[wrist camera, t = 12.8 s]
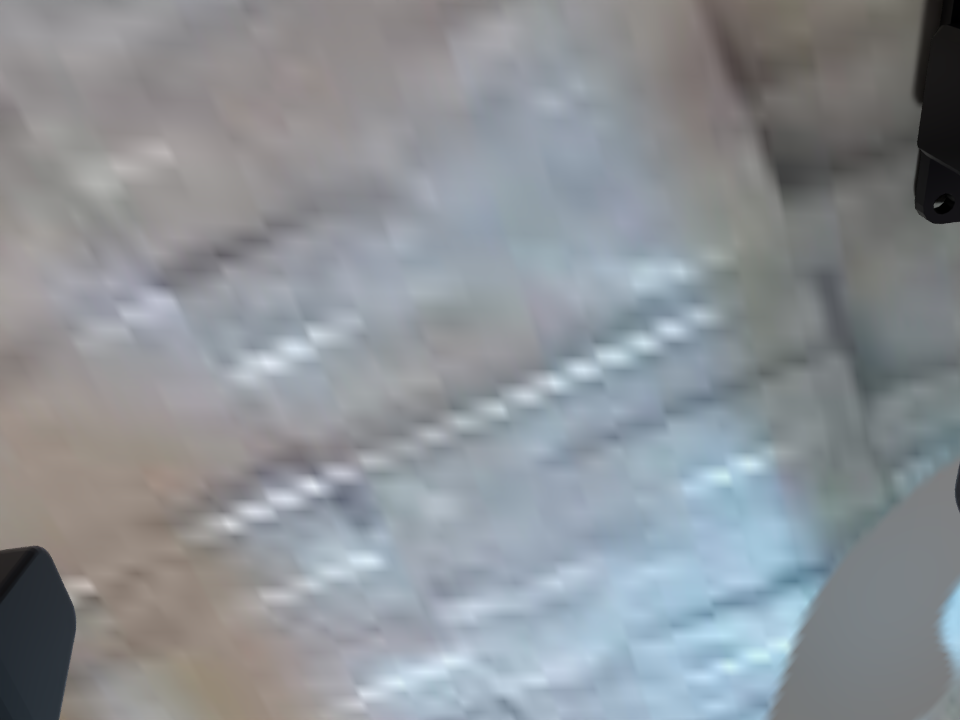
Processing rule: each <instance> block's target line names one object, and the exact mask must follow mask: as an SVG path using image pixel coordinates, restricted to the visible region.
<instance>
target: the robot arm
mask: <svg viewBox="0 0 960 720" xmlns="http://www.w3.org/2000/svg"><path fill="white" fill-rule="evenodd" d="M917 145H918V148H919V149H920V150H921V151H922V154H921V161H920V168H919V175H918V182H917V189H916V196H915V209H916V210H917V212H918V213H919V214H920V215H921V216H922V217H924V218H925V219H927V220H928V221H930V222H932V223H934V224H944V223H952V222H960V0H943V7H942V14H941V21H940V28H939V29H938V31H937V32H936V33H935V34H934V36H933V37H932V41H931V48H930V55H929V62H928V69H927V76H926V83H925V91H924V98H923V105H922V112H921V119H920V126H919V134H918V141H917ZM945 193H946V199H945V201H944V203H943V204H941V205H940V206H939V207H936V208H934V206H933V205H934V203H935V200H936V199H937V198H938V197H939V196H940V195H943V194H945ZM955 498H956V503H957V506H958V510H959V512H960V464H959V469H958V474H957V479H956V484H955ZM75 632H76V614H75V610H74V606H73V604H72V601H71V599H70V597H69V595H68V593H67V590H66V588H65V586H64V584H63V582H62V579H61V577H60V575H59V573H58V571H57V568H56V566H55V564H54V562H53V560H52V558H51V556H50V554H49V553H48V552H47V551H46V550H45V549H44V548H42V547H39V546H28V547H21V548H13V549H6V550H1V551H0V720H59V717H60V712H61V707H62V701H63V696H64V691H65V686H66V680H67V675H68V670H69V664H70V659H71V654H72V648H73V643H74V638H75Z"/></svg>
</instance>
